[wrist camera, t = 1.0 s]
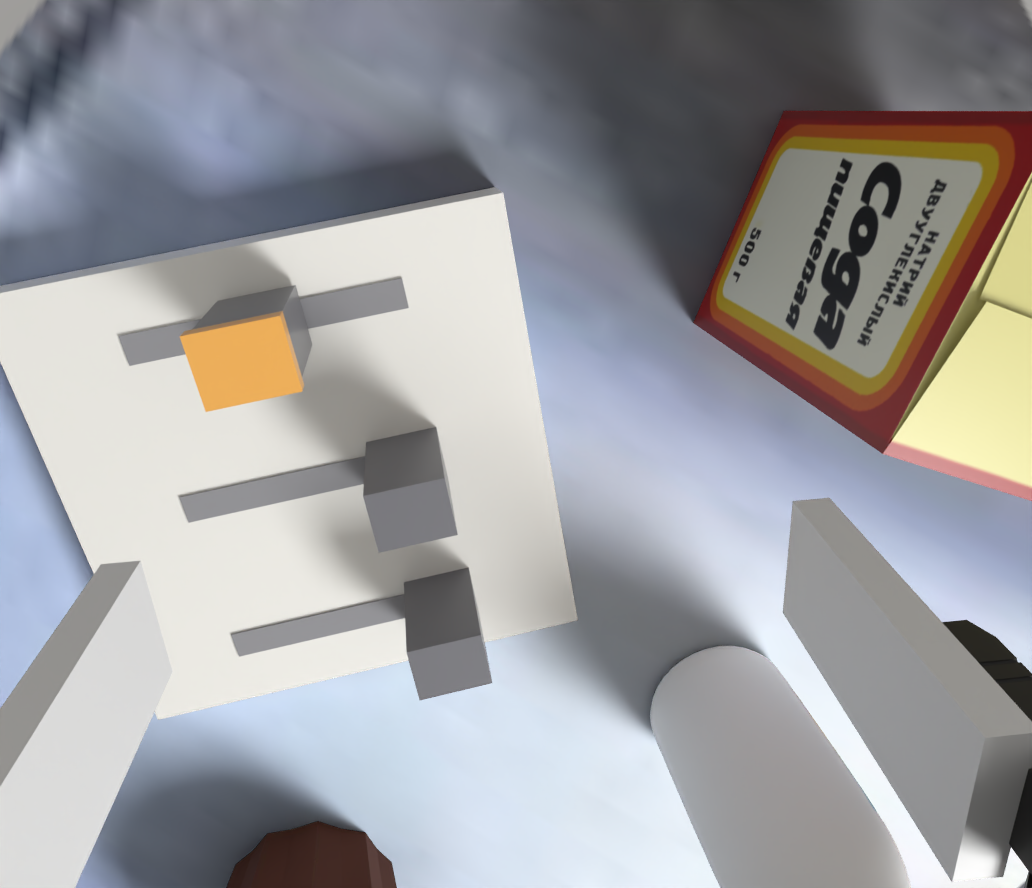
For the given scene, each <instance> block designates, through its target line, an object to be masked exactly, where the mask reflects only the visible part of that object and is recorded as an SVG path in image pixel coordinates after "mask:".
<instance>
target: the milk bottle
mask: <svg viewBox="0 0 1032 888" xmlns="http://www.w3.org/2000/svg"><path fill="white" fill-rule="evenodd" d="M650 721H651V727H652V731H653V733H654V736H655V738H656V741H657V744H658V746H659V749H660V751H661V753H662V756H663V758H664V760H665V763H666V765H667V767H668V770H669V772H670V774H671V777H672V779H673V781H674V784H675V786H676V788H677V791H678V793H679V795H680V798H681V800H682V802H683V804H684V807H685V809H686V811H687V814H688V816H689V818H690V821H691V823H692V825H693V827H694V830H695V832H696V834H697V837H698V839H699V841H700V843H701V846H702V848H703V850H704V852H705V855H706V857H707V859H708V861H709V864H710V866H711V868H712V870H713V873H714V875H715V877H716V879H717V881H718V883H719V885H720V887H721V888H911V885H910V881H909V878H908V874H907V871H906V867H905V865H904V862H903V860H902V857H901V855H900V852H899V850H898V848H897V846H896V844H895V842H894V840H893V838H892V836H891V834H890V832H889V830H888V829H887V827H886V825H885V824H884V822H883V821H882V819H881V818H880V816H879V814H878V813H877V811H876V810H875V808H874V807H873V805H872V803H871V802H870V800H869V799H868V797H867V796H866V794H865V793H864V791H863V790H862V788H861V787H860V785H859V784H858V782H857V781H856V779H855V778H854V777H853V775H852V774H851V772H850V771H849V769H848V768H847V766H846V765H845V763H844V762H843V761H842V759H841V758H840V756H839V755H838V753H837V752H836V750H835V749H834V747H833V746H832V745H831V743H830V742H829V740H828V739H827V737H826V736H825V735H824V733H823V732H822V730H821V729H820V728H819V726H818V725H817V723H816V722H815V720H814V719H813V718H812V716H811V715H810V713H809V712H808V710H807V709H806V708H805V706H804V705H803V703H802V702H801V700H800V699H799V698H798V696H797V695H796V693H795V692H794V691H793V689H792V688H791V686H790V685H789V684H788V682H787V681H786V679H785V678H784V677H783V675H782V674H781V673H780V671H779V670H778V669H777V668H776V666H775V665H774V664H773V663H772V662H771V661H770V660H769V659H767V658H766V657H765V656H763V655H761V654H759V653H757V652H755V651H752V650H749V649H747V648H744V647H737V646H717V647H712V648H707V649H704V650H702V651H699V652H696V653H693V654H692V655H690V656H688V657H686V658H685V659H683V660H681V661H680V662H679V663H678V664H676V665H675V666H674V667H672V668H671V670H670V671H669V672H668V673H667V674H666V675H665V676H664V677H663V679H662V680H661V682H660V684H659V685H658V687H657V689H656V691H655V694H654V696H653V700H652V706H651V712H650Z"/></svg>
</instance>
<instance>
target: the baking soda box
mask: <svg viewBox="0 0 1032 888" xmlns="http://www.w3.org/2000/svg"><path fill="white" fill-rule="evenodd" d="M693 323H694V324H696V325H697V326H699V327H700V328H701V329H703V330H704V331H706V332H707V333H709V334H710V335H712V336H713V337H714V338H716V339H717V340H719V341H720V342H722V343H723V344H725V345H726V346H727V347H729V348H730V349H732V350H733V351H735V352H736V353H738V354H739V355H741V356H742V357H743V358H745V359H746V360H748V361H749V362H751V363H752V364H754V365H755V366H756V367H758V368H759V369H761V370H762V371H764V372H765V373H767V374H768V375H769V376H771V377H772V378H774V379H775V380H777V381H778V382H780V383H781V384H782V385H784V386H785V387H787V388H788V389H790V390H791V391H793V392H794V393H796V394H797V395H798V396H800V397H801V398H803V399H804V400H806V401H807V402H809V403H810V404H811V405H813V406H814V407H816V408H817V409H819V410H820V411H822V412H823V413H824V414H826V415H827V416H829V417H830V418H832V419H833V420H835V421H836V422H838V423H839V424H840V425H842V426H843V427H845V428H846V429H848V430H849V431H851V432H852V433H853V434H855V435H856V436H858V437H859V438H861V439H862V440H864V441H865V442H866V443H868V444H869V445H871V446H872V447H874V448H875V449H877V450H878V451H880V452H881V453H882V454H885V455H888V456H891V457H894V458H898V459H901V460H904V461H907V462H910V463H913V464H917V465H920V466H923V467H926V468H929V469H932V470H936V471H939V472H942V473H945V474H948V475H951V476H954V477H958V478H961V479H964V480H967V481H970V482H973V483H977V484H980V485H983V486H986V487H989V488H992V489H996V490H999V491H1002V492H1005V493H1008V494H1011V495H1015V496H1018V497H1021V498H1024V499H1027V500H1030V501H1032V111H784V112H783V114H782V116H781V119H780V121H779V123H778V126H777V128H776V130H775V133H774V135H773V137H772V140H771V142H770V144H769V147H768V149H767V151H766V154H765V156H764V158H763V161H762V163H761V165H760V168H759V170H758V172H757V175H756V177H755V180H754V182H753V184H752V187H751V189H750V191H749V194H748V196H747V198H746V201H745V203H744V205H743V208H742V210H741V212H740V215H739V217H738V219H737V222H736V224H735V226H734V229H733V231H732V233H731V236H730V238H729V240H728V243H727V245H726V247H725V250H724V252H723V255H722V257H721V259H720V262H719V264H718V266H717V269H716V271H715V273H714V276H713V278H712V280H711V283H710V285H709V287H708V290H707V292H706V294H705V297H704V299H703V301H702V304H701V306H700V308H699V311H698V313H697V315H696V318H695V320H694V322H693Z"/></svg>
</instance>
